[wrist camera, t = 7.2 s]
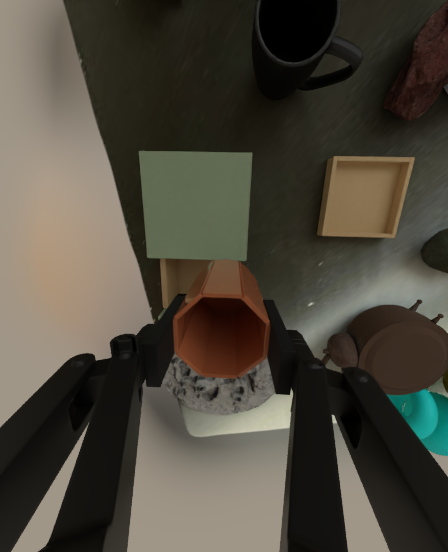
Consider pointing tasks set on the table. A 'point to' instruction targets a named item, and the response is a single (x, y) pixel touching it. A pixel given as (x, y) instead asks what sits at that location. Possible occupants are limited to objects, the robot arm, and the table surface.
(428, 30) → the rock
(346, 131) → the table surface
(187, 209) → the cabinet
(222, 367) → the cup
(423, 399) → the donuts
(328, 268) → the table surface
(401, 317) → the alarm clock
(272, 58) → the mug
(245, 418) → the table surface
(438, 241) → the decorative stone
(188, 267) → the drawer
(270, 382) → the terrain model
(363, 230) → the tray
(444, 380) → the fruit
